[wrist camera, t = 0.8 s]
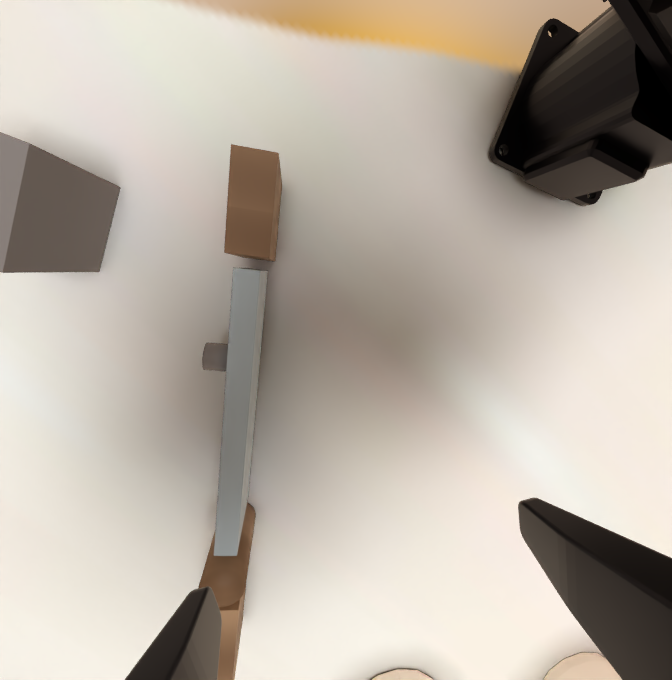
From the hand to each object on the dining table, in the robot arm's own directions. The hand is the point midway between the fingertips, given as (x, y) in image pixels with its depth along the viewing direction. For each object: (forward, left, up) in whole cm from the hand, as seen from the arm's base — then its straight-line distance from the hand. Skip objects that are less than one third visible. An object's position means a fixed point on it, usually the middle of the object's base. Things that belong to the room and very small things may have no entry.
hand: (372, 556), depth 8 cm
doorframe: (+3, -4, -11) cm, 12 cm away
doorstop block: (-4, -14, -11) cm, 19 cm away
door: (+1, -5, -11) cm, 12 cm away
